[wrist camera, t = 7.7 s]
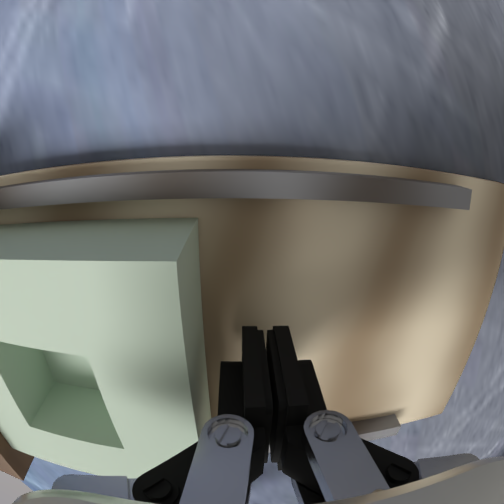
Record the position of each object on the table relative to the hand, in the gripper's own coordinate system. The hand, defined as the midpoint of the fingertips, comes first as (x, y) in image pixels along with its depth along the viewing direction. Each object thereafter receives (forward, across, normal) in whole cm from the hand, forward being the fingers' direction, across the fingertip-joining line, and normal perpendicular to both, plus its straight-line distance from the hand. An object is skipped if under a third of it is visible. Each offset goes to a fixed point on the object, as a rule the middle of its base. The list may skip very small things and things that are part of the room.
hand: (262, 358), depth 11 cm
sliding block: (+1, +7, 0) cm, 7 cm away
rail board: (+2, +1, 0) cm, 3 cm away
